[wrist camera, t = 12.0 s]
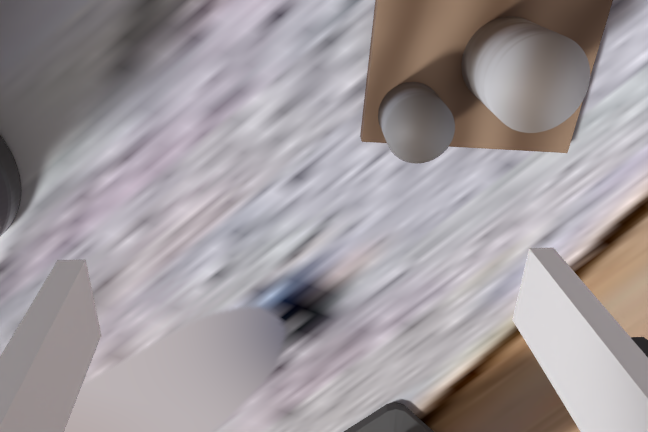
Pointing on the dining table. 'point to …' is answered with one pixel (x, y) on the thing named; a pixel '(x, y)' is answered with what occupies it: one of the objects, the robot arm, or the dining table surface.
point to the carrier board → (440, 54)
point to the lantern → (391, 421)
